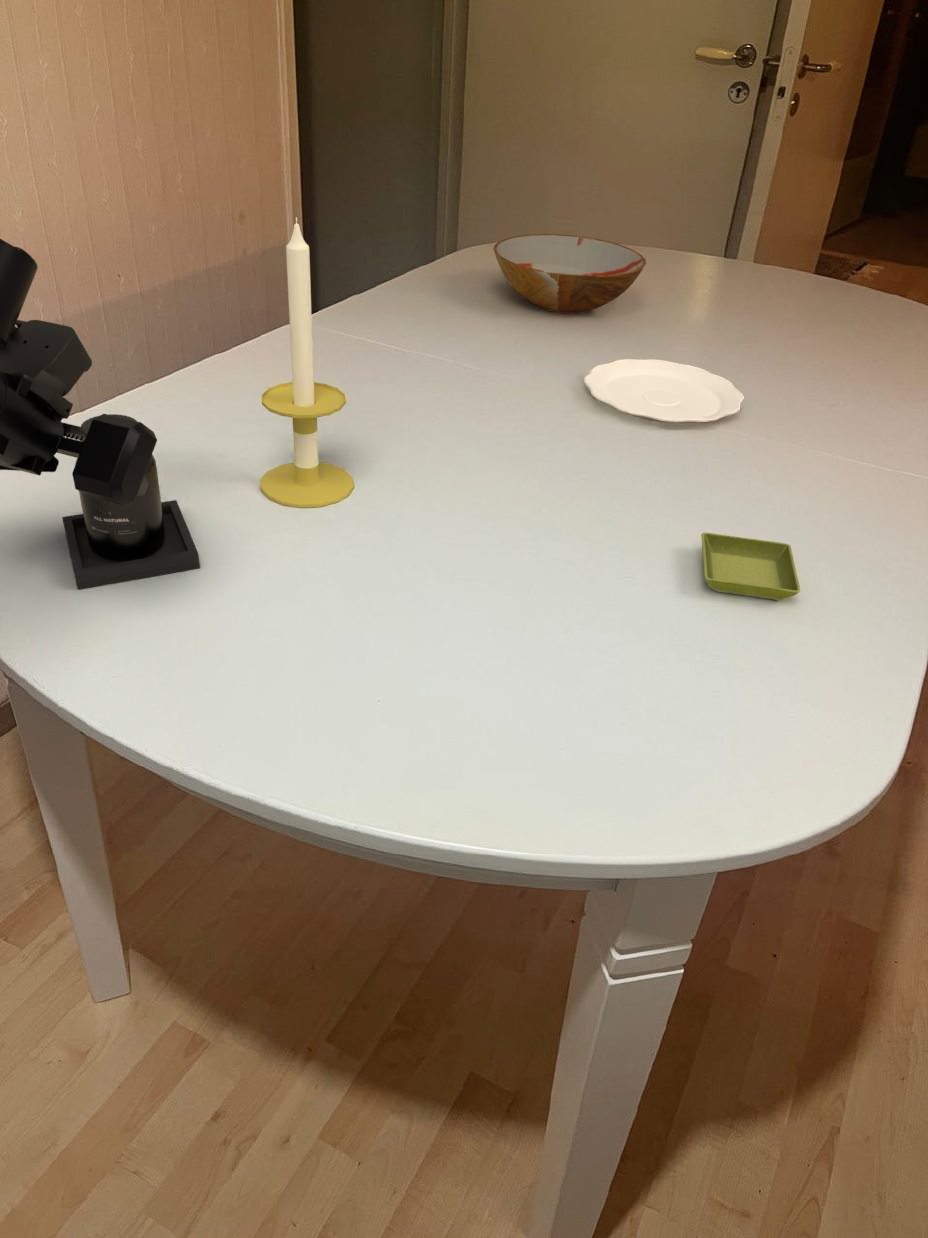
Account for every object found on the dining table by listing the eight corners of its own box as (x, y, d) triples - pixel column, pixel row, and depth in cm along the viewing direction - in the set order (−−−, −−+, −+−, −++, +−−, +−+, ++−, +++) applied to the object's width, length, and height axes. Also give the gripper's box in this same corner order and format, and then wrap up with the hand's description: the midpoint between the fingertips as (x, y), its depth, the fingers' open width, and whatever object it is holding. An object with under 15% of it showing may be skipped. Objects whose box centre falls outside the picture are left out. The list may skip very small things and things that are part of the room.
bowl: (475, 315, 148) (479, 263, 143) (504, 273, 168) (508, 227, 163) (632, 336, 144) (641, 284, 140) (642, 291, 164) (651, 244, 160)
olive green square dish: (795, 610, 85) (801, 592, 84) (699, 597, 86) (704, 578, 85) (784, 561, 92) (790, 543, 91) (696, 549, 93) (701, 531, 92)
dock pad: (77, 589, 81) (74, 574, 80) (65, 530, 88) (61, 516, 88) (200, 568, 85) (198, 553, 84) (178, 513, 92) (176, 499, 91)
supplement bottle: (104, 571, 82) (79, 448, 75) (80, 537, 87) (54, 417, 80) (178, 551, 86) (161, 431, 79) (152, 519, 90) (133, 402, 83)
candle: (316, 455, 105) (308, 199, 89) (373, 488, 99) (375, 222, 83) (241, 480, 99) (217, 211, 83) (297, 517, 93) (283, 237, 77)
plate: (551, 388, 125) (553, 376, 124) (654, 360, 136) (657, 349, 135) (668, 446, 112) (671, 433, 111) (771, 410, 124) (775, 398, 123)
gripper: (122, 319, 64) (224, 413, 79) (-91, 276, 68) (44, 372, 83) (65, 469, 62) (180, 535, 77) (-149, 414, 67) (-1, 487, 82)
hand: (99, 477), depth 80 cm, fingers open, 9 cm apart
